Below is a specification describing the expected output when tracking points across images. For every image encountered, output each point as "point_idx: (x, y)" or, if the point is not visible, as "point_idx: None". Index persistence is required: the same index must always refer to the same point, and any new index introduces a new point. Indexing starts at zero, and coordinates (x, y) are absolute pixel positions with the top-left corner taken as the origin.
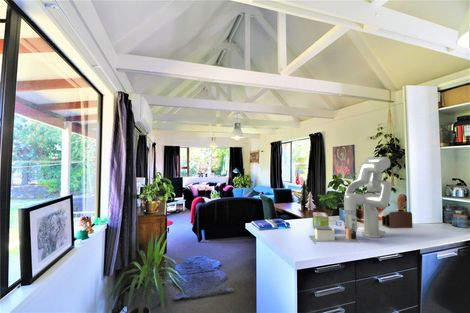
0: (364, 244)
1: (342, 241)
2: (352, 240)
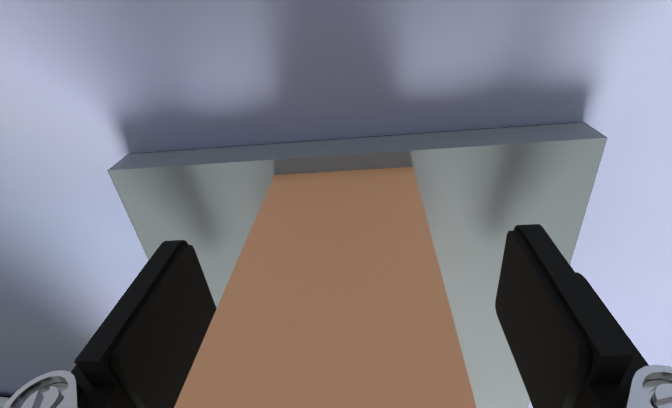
0: (606, 5)
1: (487, 384)
2: (437, 238)
